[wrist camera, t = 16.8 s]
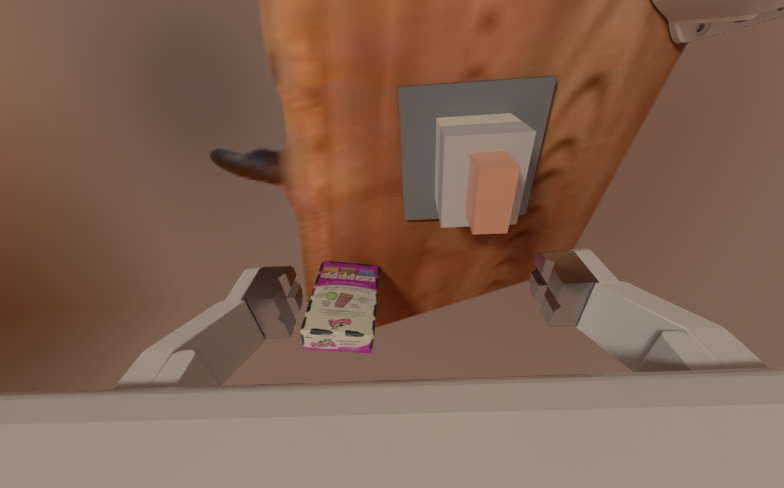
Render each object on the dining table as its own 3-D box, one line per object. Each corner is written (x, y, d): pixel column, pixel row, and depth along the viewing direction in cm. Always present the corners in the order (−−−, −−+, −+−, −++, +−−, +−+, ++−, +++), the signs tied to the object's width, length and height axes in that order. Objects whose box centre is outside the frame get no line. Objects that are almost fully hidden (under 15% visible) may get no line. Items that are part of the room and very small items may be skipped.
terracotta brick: (505, 150, 34) (520, 166, 30) (496, 211, 38) (507, 233, 34) (470, 152, 34) (479, 168, 30) (464, 213, 39) (472, 234, 35)
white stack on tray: (553, 75, 38) (595, 87, 30) (523, 211, 50) (547, 247, 41) (398, 86, 39) (397, 100, 31) (404, 217, 51) (405, 252, 43)
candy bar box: (322, 279, 60) (300, 350, 46) (321, 259, 57) (297, 329, 43) (378, 284, 60) (372, 355, 47) (380, 265, 57) (374, 336, 44)
